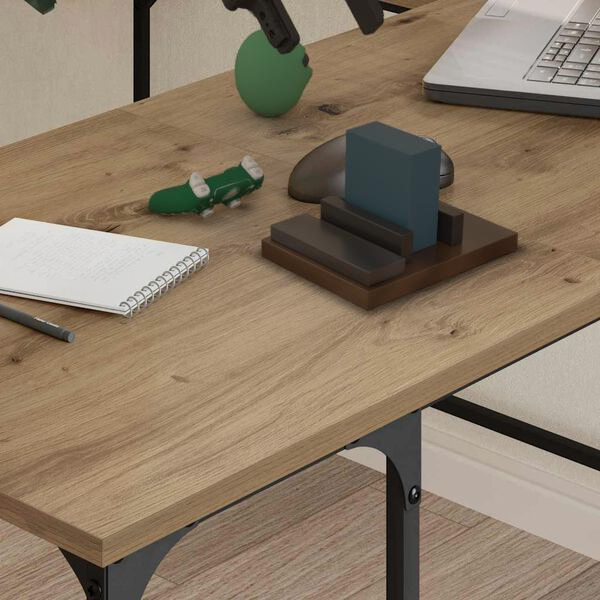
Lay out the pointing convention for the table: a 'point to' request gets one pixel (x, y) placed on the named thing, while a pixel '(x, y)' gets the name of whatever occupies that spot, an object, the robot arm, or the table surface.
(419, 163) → the back pad
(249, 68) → the alien toy
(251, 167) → the gaming controller
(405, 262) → the brown wooden stand
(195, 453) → the table surface
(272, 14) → the robot arm
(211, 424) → the table surface
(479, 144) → the table surface
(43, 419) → the table surface
